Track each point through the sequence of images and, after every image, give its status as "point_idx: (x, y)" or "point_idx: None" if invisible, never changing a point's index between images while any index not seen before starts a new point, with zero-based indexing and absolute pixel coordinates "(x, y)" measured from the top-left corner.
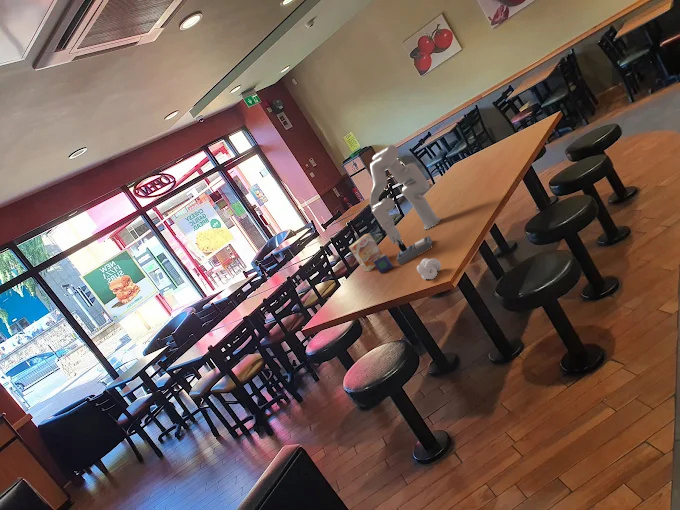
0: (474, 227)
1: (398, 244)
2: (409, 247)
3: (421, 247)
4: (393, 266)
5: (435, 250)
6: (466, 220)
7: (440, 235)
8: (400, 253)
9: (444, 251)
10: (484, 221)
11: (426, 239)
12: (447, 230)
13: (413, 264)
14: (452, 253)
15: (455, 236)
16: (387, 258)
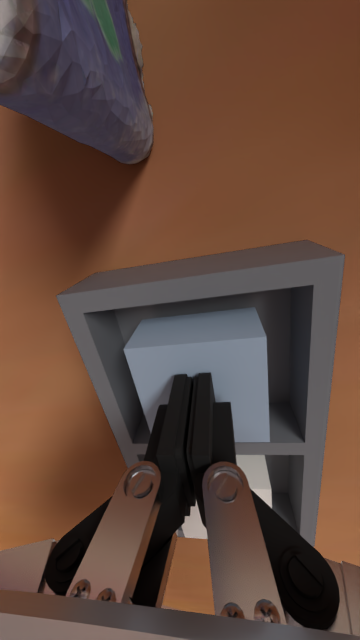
0: (175, 594)
1: (13, 563)
2: (236, 434)
3: None
4: (135, 161)
5: (105, 495)
6: None
7: (326, 522)
8: (143, 356)
9: (49, 519)
10: (189, 611)
11: (295, 511)
12: (346, 549)
13: (17, 398)
14: (4, 534)
15: (175, 556)
16: (39, 120)
